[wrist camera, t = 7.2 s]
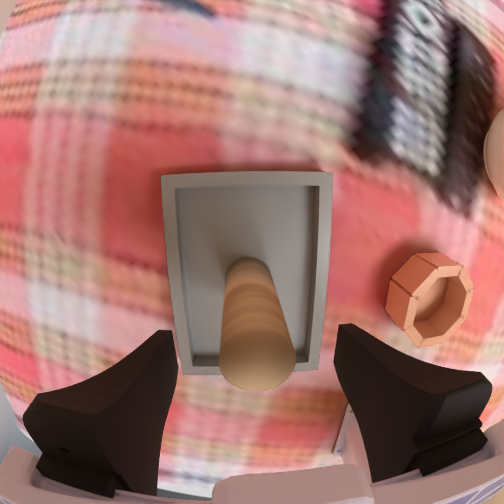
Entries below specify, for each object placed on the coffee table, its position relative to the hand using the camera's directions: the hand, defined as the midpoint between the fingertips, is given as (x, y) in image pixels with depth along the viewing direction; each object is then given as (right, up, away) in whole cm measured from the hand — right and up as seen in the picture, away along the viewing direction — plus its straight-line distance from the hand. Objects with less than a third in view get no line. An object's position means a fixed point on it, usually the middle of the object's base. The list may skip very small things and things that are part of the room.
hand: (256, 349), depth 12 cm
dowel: (0, +2, +7) cm, 8 cm away
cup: (+14, +1, +9) cm, 16 cm away
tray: (0, +2, +8) cm, 8 cm away
